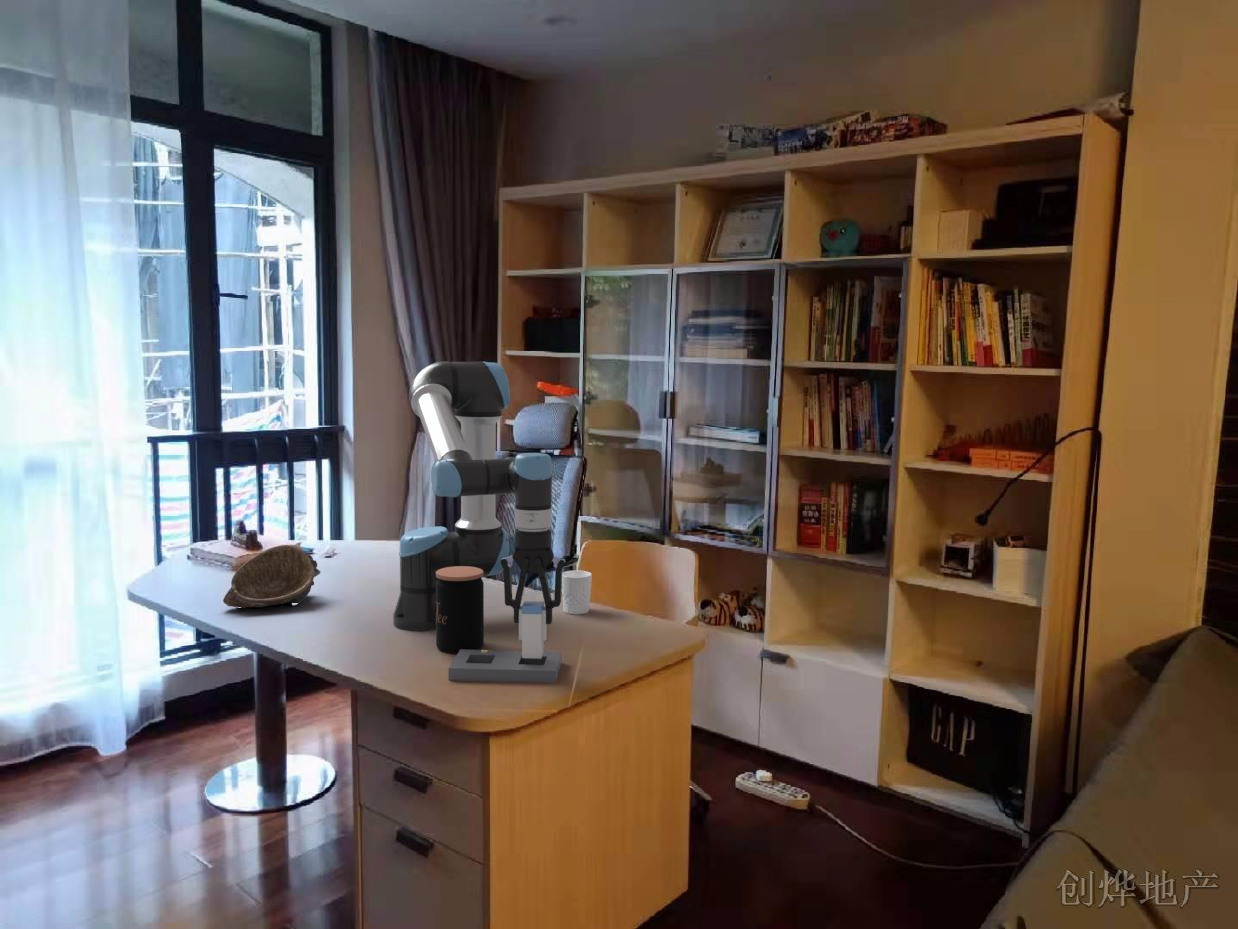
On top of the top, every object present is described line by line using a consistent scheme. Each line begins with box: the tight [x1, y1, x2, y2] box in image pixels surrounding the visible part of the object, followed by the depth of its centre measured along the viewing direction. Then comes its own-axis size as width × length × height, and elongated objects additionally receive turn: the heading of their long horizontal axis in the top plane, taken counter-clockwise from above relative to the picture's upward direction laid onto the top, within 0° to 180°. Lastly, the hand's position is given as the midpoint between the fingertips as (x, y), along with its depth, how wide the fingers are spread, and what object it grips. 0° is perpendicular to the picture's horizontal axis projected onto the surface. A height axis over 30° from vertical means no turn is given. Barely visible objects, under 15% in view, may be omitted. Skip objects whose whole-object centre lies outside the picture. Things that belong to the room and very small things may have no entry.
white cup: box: [561, 569, 593, 615], centre depth 239 cm, size 8×8×10 cm
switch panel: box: [447, 649, 562, 684], centre depth 192 cm, size 22×12×3 cm, turn 88°
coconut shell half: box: [222, 544, 321, 609], centre depth 243 cm, size 15×16×25 cm
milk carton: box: [521, 600, 545, 659], centre depth 191 cm, size 4×4×11 cm
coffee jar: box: [435, 566, 485, 655], centre depth 207 cm, size 11×11×18 cm
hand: (532, 638), depth 191 cm, fingers closed on milk carton, 4 cm apart
